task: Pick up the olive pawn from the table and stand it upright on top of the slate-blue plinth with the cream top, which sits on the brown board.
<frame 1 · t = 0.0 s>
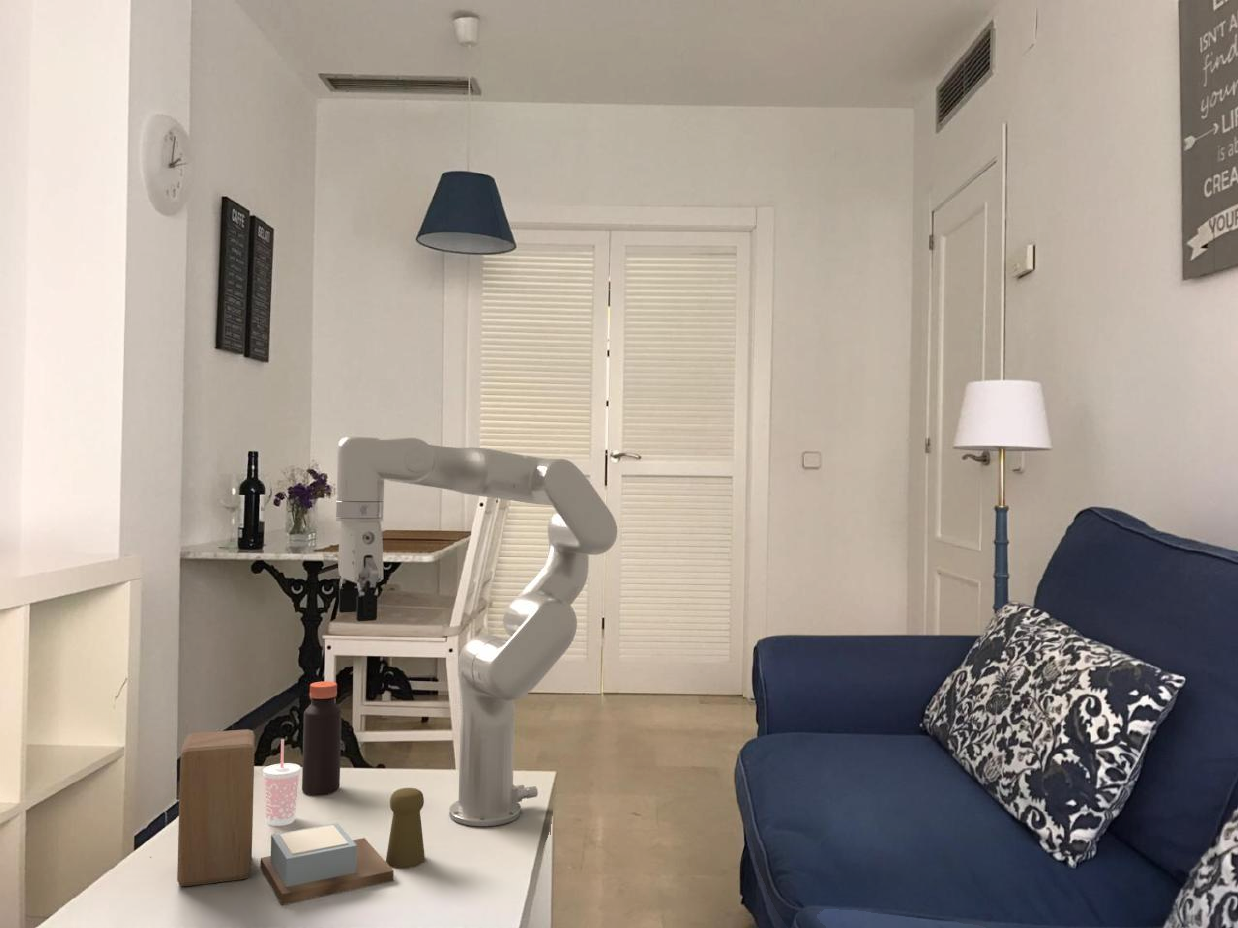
hand: (357, 616, 155), 37 cm above the table, tool pointing down, fingers open, 9 cm apart
slate plinth: (312, 876, 141), resting on brown board
beverage cup: (280, 821, 162), on the table
olive pawn: (405, 861, 147), on the table
bottle: (320, 791, 178), on the table
brown board: (326, 873, 142), on the table
block: (215, 872, 142), on the table
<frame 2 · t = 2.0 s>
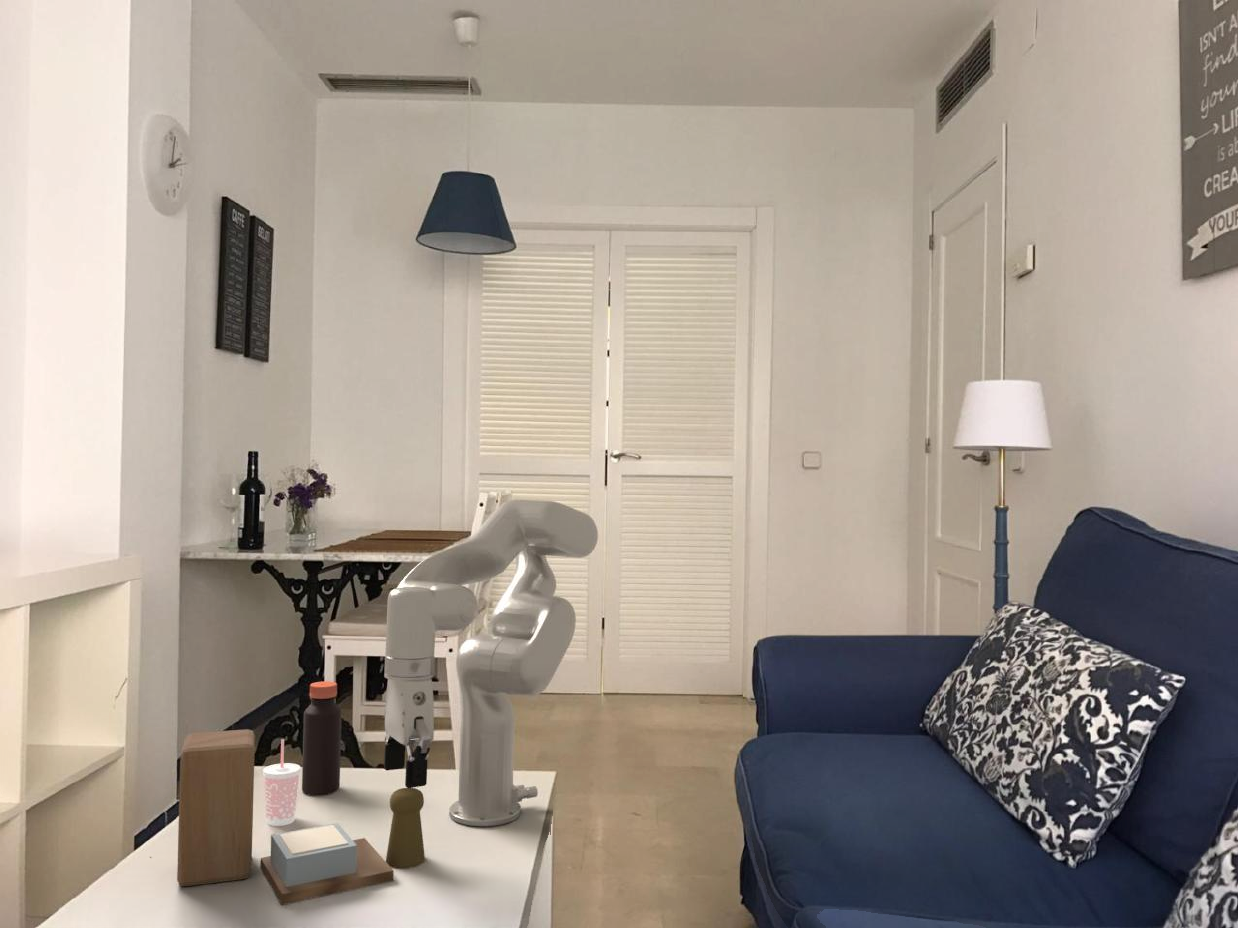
hand: (404, 777, 147), 13 cm above the table, tool pointing down, fingers open, 9 cm apart
nothing on the table moved.
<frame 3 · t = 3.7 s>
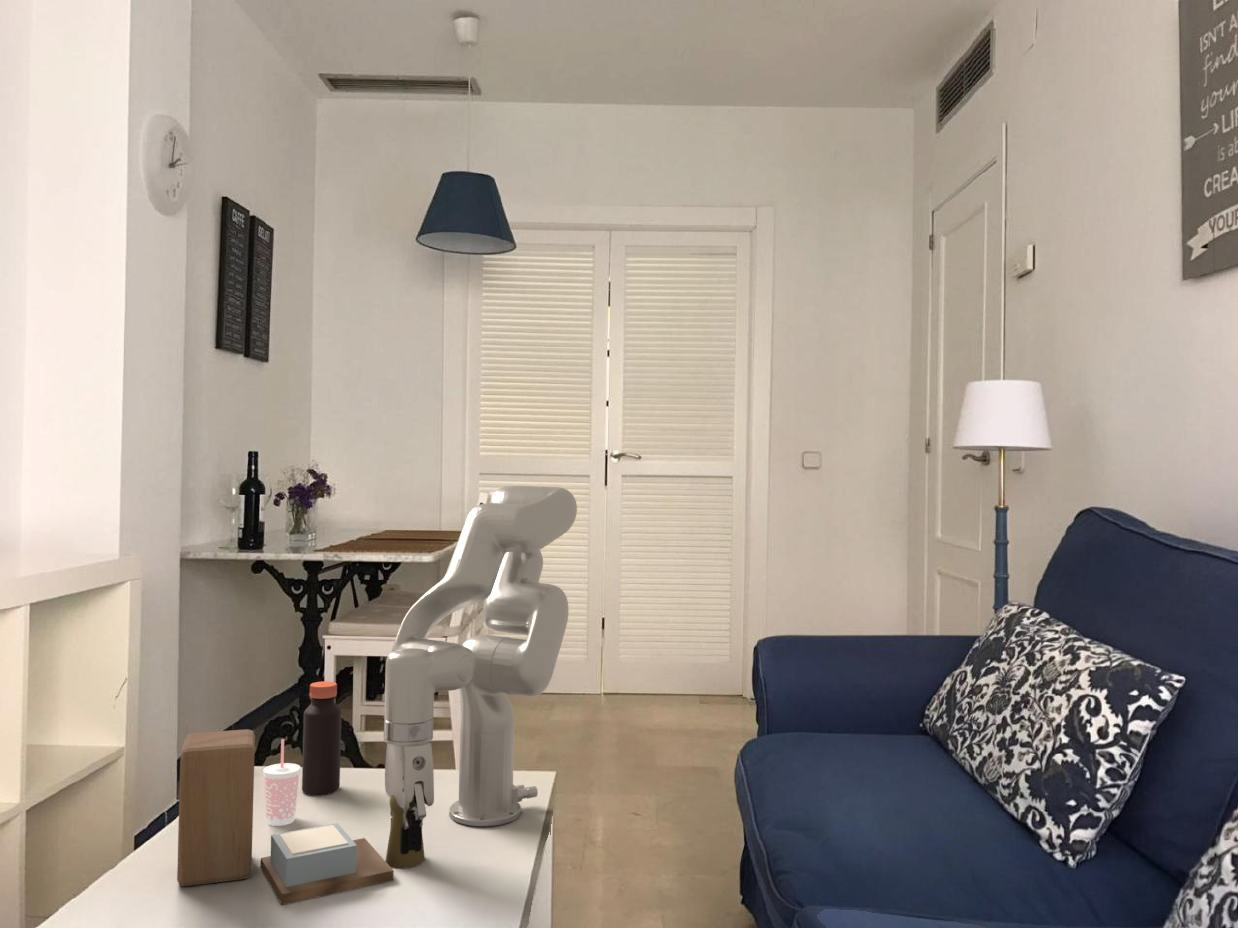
hand: (405, 845, 147), 2 cm above the table, tool pointing down, fingers closed on olive pawn, 3 cm apart
olive pawn: (405, 861, 147), on the table, touching gripper
everything else where it was.
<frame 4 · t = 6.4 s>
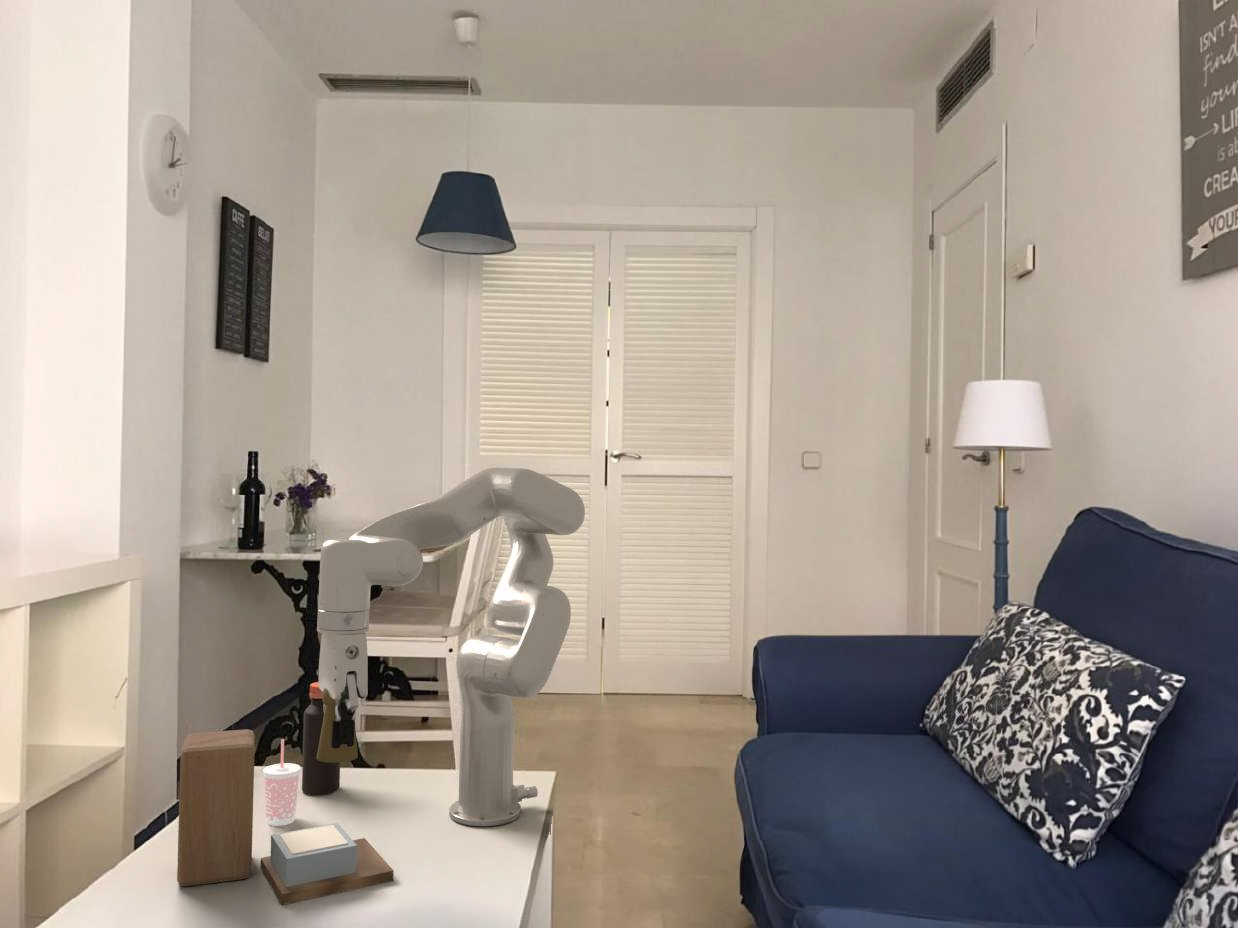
hand: (337, 741, 142), 20 cm above the table, tool pointing down, fingers closed on olive pawn, 3 cm apart
olive pawn: (337, 758, 142), point 17 cm above the table, touching gripper
everything else where it was.
when the fingers open (9 cm above the table, at t = 9.3 s): olive pawn stays where it is, resting on slate plinth.
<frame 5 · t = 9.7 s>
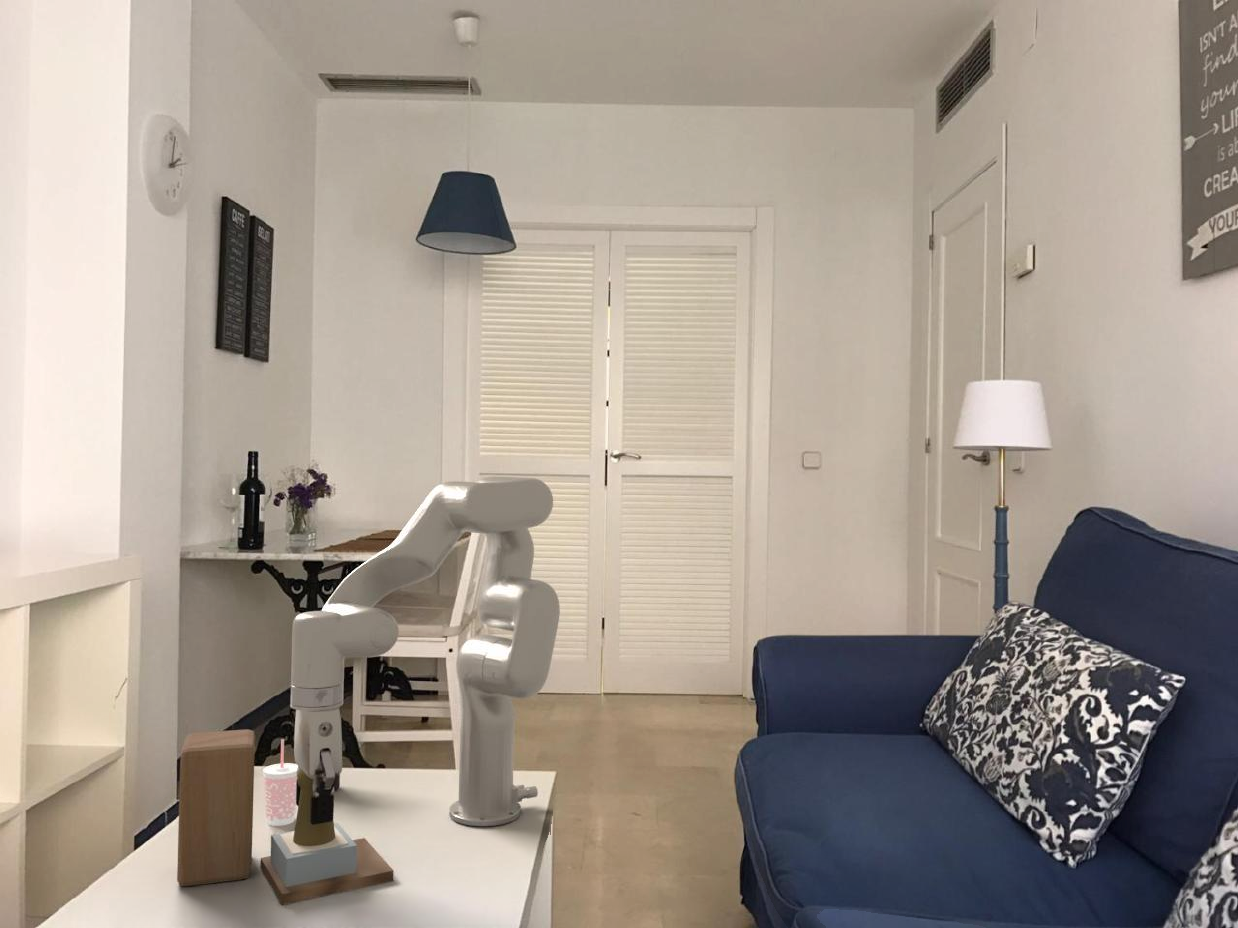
hand: (314, 812, 141), 10 cm above the table, tool pointing down, fingers open, 7 cm apart
olive pawn: (314, 839, 141), point 6 cm above the table, touching slate plinth
everything else where it was.
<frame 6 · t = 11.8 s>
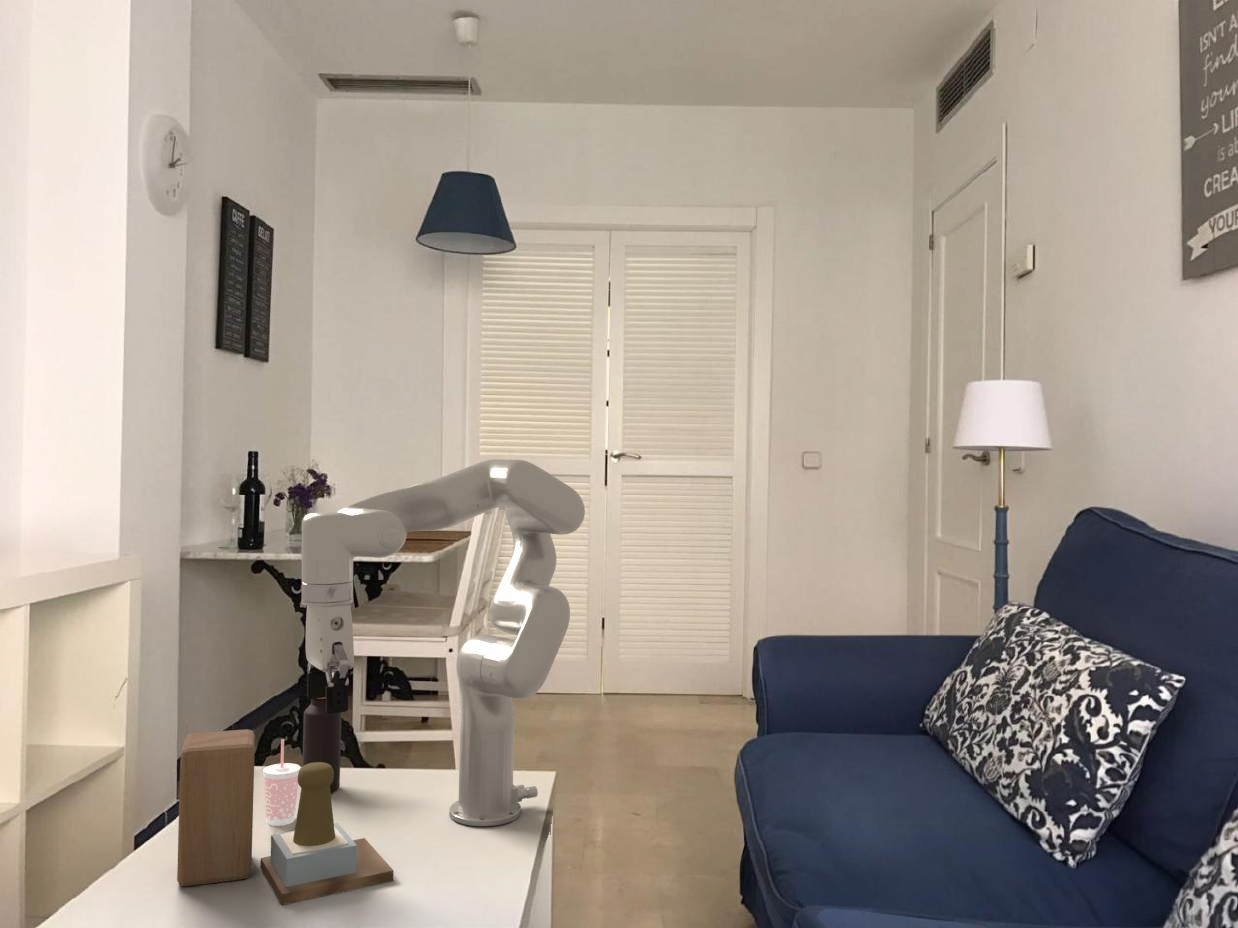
hand: (327, 704, 144), 25 cm above the table, tool pointing down, fingers open, 9 cm apart
nothing on the table moved.
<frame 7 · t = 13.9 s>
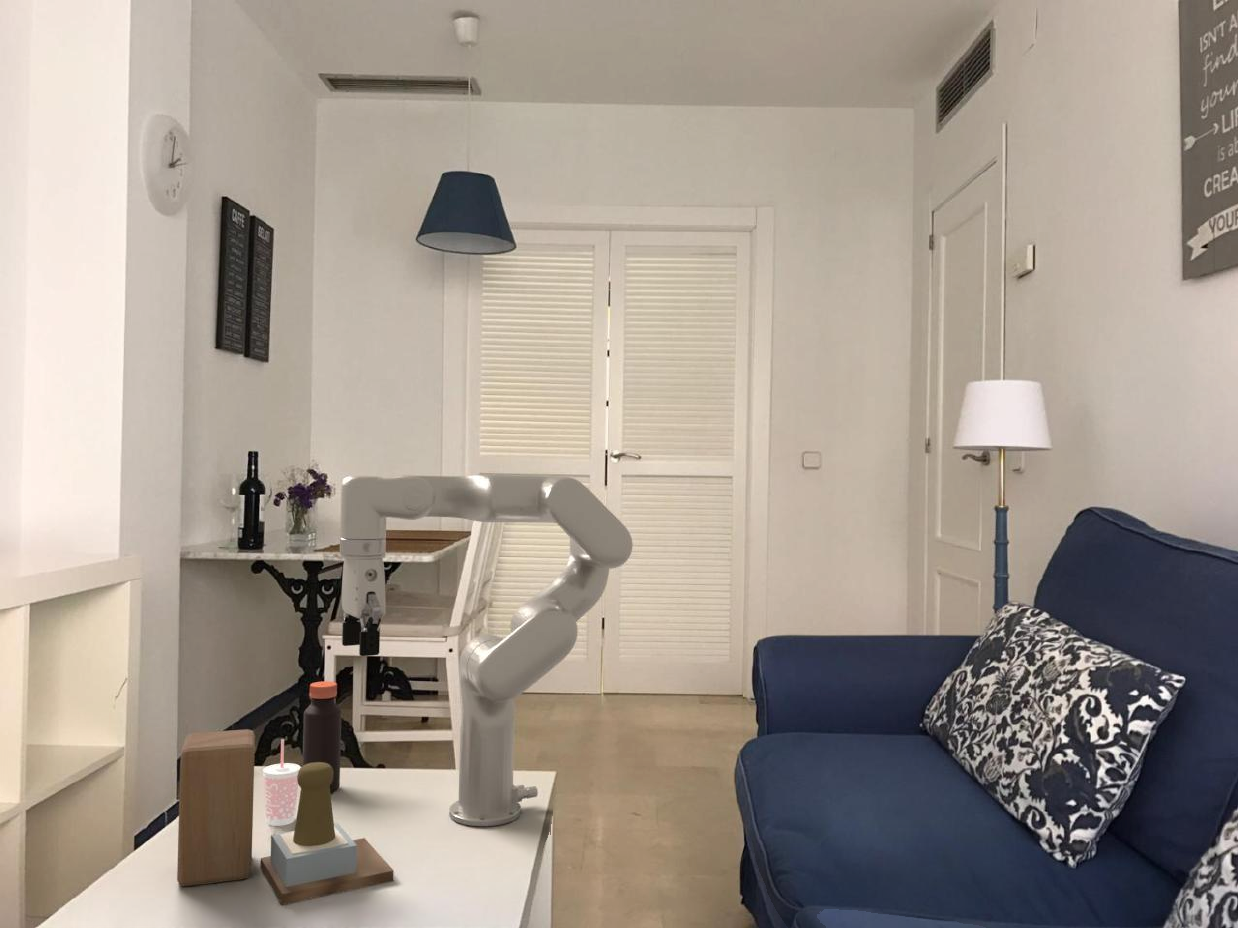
hand: (360, 649, 159), 30 cm above the table, tool pointing down, fingers open, 9 cm apart
nothing on the table moved.
at the end: olive pawn 0.2 cm off-centre on the slate plinth, point 5.5 cm above the slate plinth's base; olive pawn tilted 0°; the gripper is holding nothing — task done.
